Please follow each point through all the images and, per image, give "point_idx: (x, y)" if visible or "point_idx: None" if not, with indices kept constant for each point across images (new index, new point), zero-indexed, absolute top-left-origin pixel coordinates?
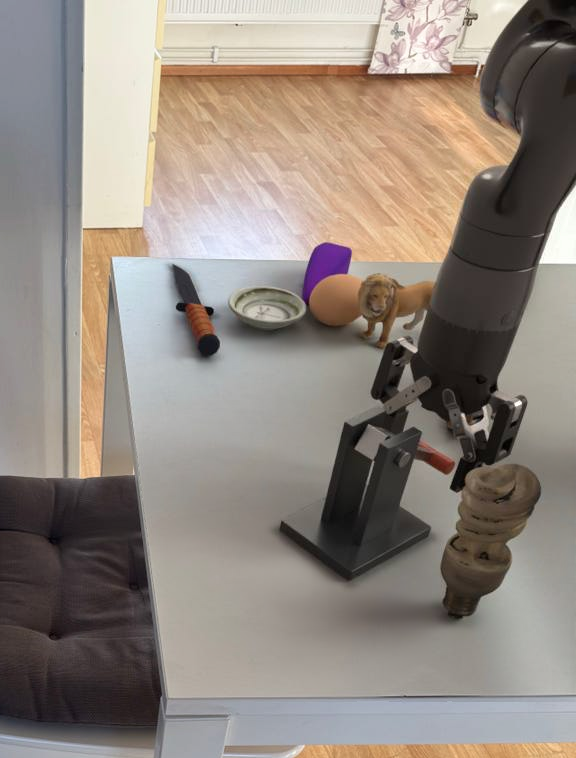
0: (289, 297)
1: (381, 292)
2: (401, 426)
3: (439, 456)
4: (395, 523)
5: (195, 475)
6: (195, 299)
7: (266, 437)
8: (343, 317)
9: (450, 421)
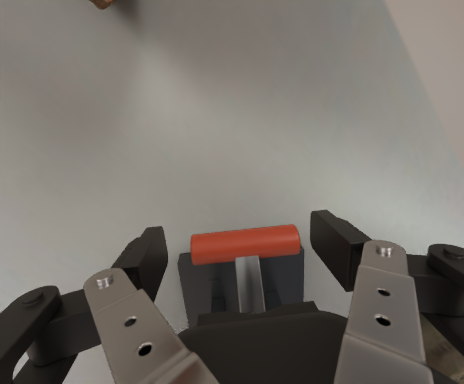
0: None
1: None
2: (152, 254)
3: (272, 254)
4: (273, 282)
5: (73, 381)
6: None
7: (19, 281)
8: None
9: (107, 6)
